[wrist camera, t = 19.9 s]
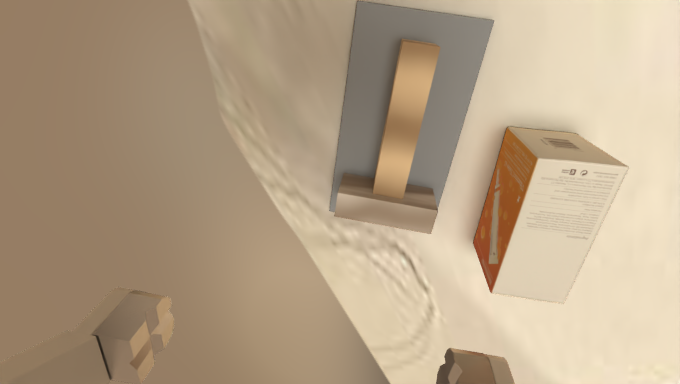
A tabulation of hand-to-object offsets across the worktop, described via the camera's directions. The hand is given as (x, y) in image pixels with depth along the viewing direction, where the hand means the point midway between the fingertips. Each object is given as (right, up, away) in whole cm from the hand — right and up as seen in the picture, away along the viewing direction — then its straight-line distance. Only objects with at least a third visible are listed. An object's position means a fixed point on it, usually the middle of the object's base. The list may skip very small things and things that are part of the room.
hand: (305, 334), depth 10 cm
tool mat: (+7, +10, +23) cm, 26 cm away
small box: (+19, +8, +18) cm, 27 cm away
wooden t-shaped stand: (+6, +10, +23) cm, 25 cm away
